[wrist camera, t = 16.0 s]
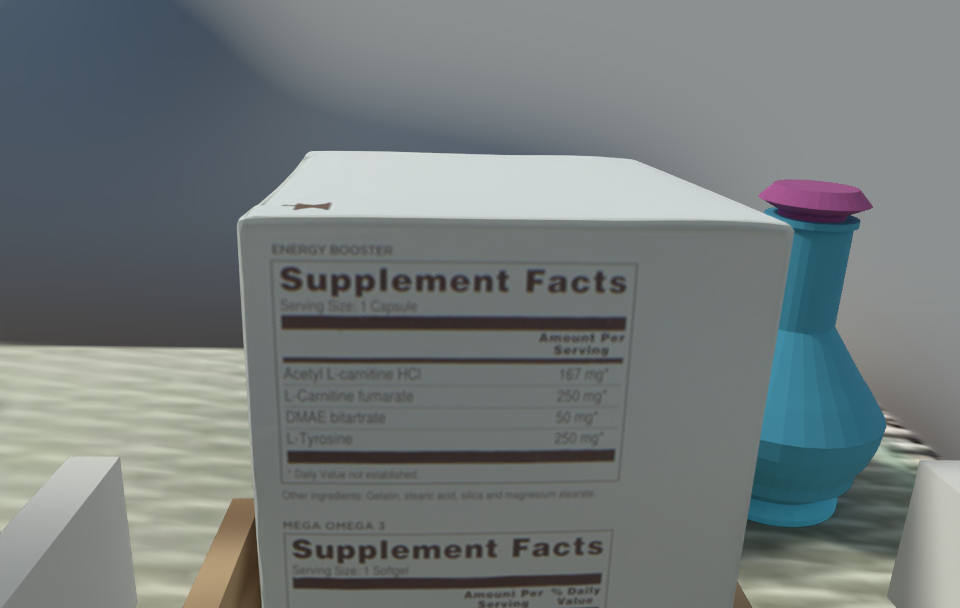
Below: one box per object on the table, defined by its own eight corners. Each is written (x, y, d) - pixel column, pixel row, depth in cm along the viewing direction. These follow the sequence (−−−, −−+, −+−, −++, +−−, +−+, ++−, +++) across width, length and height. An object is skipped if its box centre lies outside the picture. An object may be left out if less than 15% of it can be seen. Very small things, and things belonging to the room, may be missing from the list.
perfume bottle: (647, 442, 42) (680, 167, 37) (809, 443, 42) (861, 173, 38) (704, 545, 33) (756, 202, 28) (907, 544, 34) (991, 209, 29)
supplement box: (690, 954, 17) (823, 224, 12) (274, 991, 16) (221, 213, 11) (590, 644, 26) (641, 150, 21) (319, 655, 25) (302, 141, 20)
